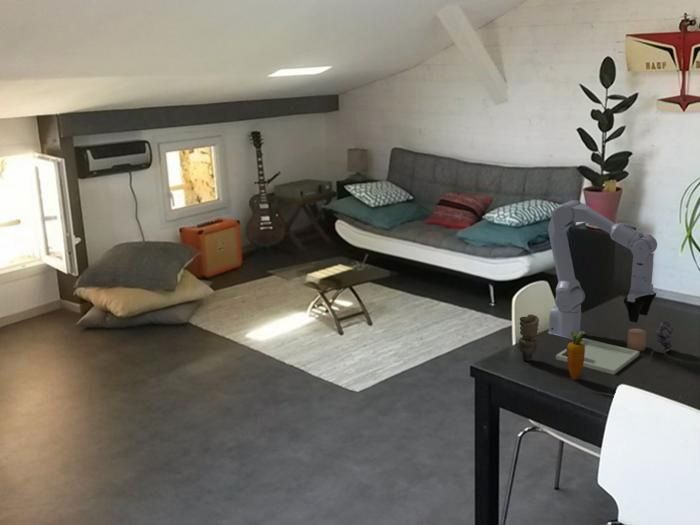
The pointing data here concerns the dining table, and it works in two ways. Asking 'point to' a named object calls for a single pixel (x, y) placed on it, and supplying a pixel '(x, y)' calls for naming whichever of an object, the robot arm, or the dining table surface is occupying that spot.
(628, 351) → the tray
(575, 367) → the carrot
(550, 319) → the robot arm
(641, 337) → the tan cylinder
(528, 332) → the brown carved statue
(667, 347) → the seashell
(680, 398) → the dining table surface
